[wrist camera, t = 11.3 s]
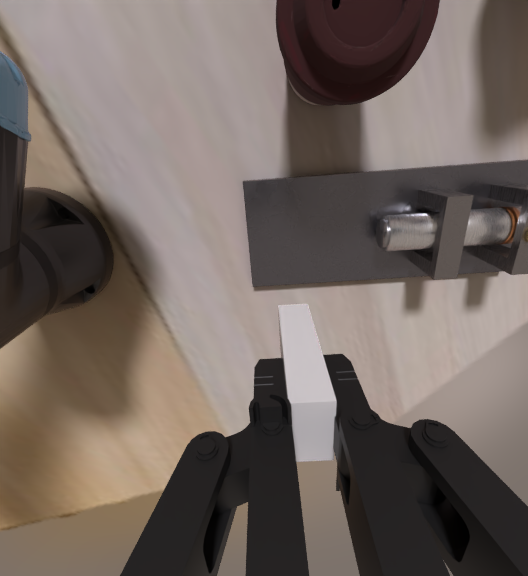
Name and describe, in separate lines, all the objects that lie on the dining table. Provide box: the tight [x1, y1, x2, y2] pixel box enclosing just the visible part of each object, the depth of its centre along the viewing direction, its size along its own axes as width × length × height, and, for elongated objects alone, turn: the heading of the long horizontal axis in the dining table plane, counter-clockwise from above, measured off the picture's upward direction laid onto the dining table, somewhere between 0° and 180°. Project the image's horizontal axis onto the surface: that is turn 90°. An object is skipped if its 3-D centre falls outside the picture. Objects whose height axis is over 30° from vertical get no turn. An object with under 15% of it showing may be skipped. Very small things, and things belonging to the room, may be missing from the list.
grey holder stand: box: [243, 160, 528, 287], centre depth 34 cm, size 32×13×8 cm, turn 94°
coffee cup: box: [276, 0, 440, 105], centre depth 24 cm, size 10×10×15 cm
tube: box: [376, 206, 522, 251], centre depth 34 cm, size 18×4×4 cm, turn 94°
